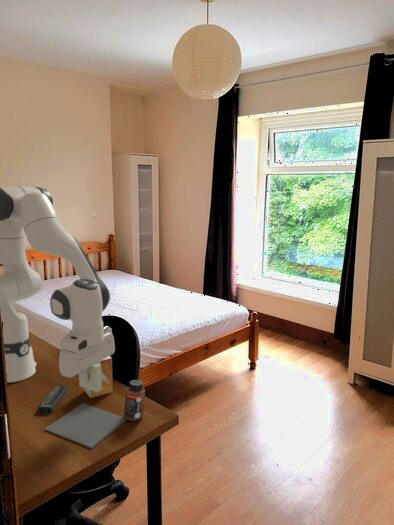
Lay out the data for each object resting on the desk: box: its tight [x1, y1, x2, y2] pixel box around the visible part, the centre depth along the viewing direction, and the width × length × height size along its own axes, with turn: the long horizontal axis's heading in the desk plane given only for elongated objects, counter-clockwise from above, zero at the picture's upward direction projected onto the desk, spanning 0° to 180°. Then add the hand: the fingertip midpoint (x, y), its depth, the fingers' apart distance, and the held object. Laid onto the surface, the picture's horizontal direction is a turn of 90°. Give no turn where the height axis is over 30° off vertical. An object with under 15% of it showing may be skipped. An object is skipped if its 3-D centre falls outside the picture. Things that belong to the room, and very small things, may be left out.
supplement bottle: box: [123, 379, 146, 422], centre depth 128 cm, size 6×6×11 cm
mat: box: [44, 402, 128, 450], centre depth 125 cm, size 18×16×1 cm
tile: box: [78, 363, 102, 392], centre depth 123 cm, size 7×2×8 cm, turn 63°
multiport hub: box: [37, 384, 68, 415], centre depth 138 cm, size 4×14×2 cm, turn 177°
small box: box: [84, 355, 113, 399], centre depth 143 cm, size 8×6×13 cm
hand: (90, 378), depth 124 cm, fingers closed on tile, 2 cm apart
